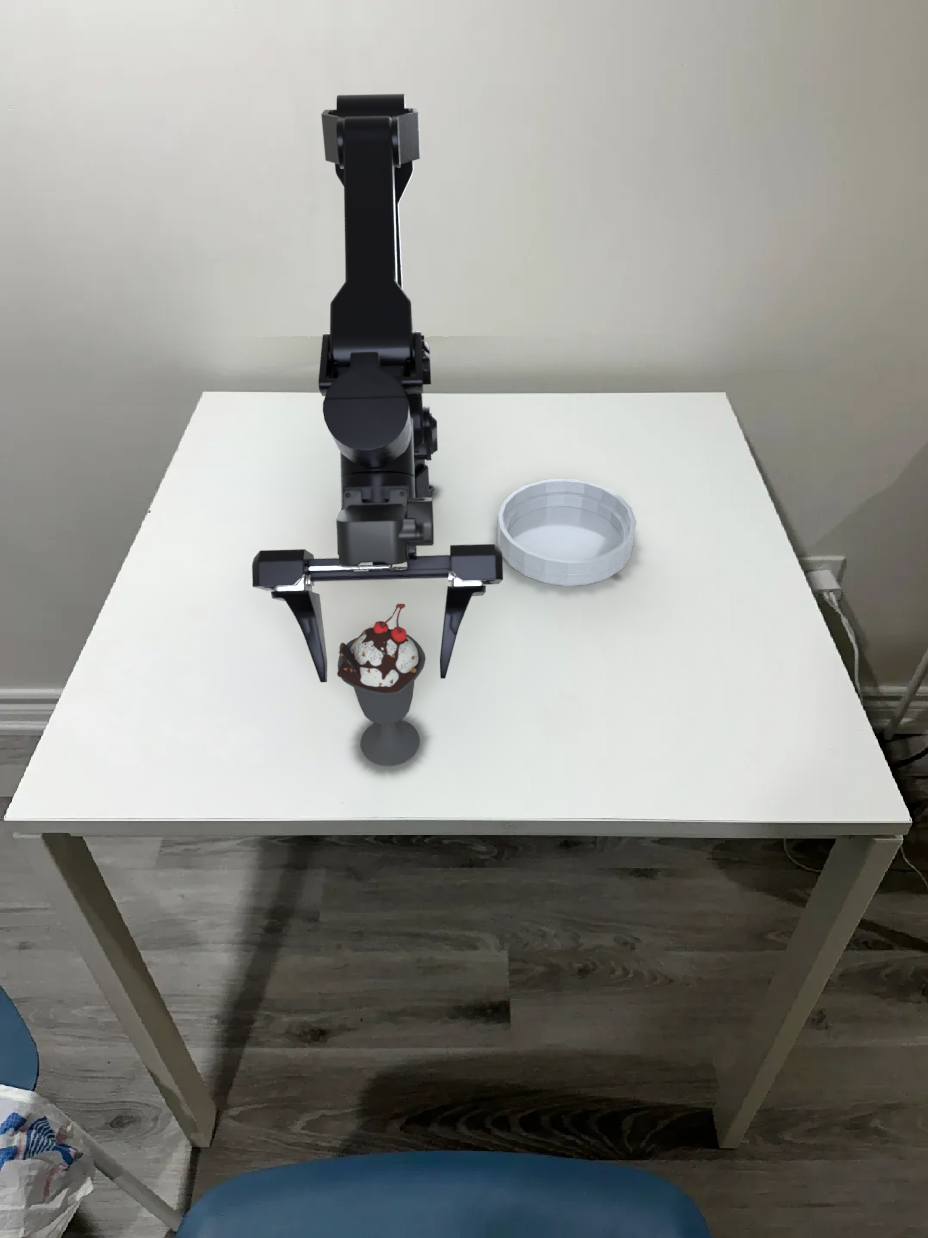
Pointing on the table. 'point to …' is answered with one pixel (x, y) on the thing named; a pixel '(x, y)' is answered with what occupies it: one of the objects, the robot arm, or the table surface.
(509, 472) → the table surface
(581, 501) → the pan
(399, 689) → the sundae
